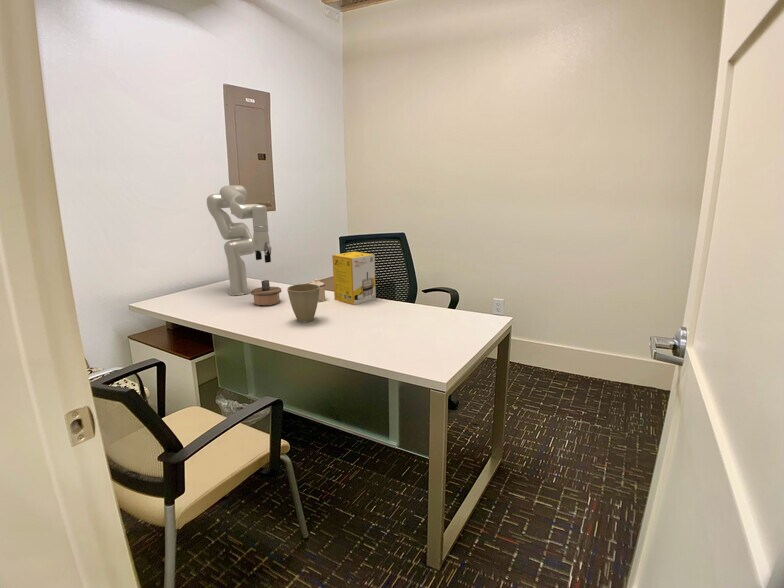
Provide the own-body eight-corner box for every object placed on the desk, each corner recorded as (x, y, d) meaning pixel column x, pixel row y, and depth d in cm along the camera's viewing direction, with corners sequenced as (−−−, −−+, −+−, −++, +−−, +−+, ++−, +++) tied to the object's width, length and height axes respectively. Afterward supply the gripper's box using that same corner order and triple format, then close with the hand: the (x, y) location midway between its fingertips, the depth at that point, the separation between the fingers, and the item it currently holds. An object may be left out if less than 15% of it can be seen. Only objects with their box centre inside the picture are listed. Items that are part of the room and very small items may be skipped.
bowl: (251, 303, 239) (249, 292, 237) (271, 298, 247) (270, 288, 246) (262, 307, 230) (261, 296, 229) (283, 302, 239) (282, 291, 237)
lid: (245, 292, 237) (244, 281, 236) (271, 287, 248) (270, 276, 247) (260, 297, 226) (259, 286, 225) (287, 291, 237) (286, 280, 236)
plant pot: (286, 325, 202) (283, 291, 198) (293, 315, 216) (291, 283, 212) (318, 324, 201) (316, 291, 197) (323, 314, 216) (322, 283, 212)
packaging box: (356, 294, 254) (354, 251, 248) (375, 299, 243) (374, 254, 237) (334, 299, 243) (332, 255, 236) (353, 305, 232) (351, 258, 225)
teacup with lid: (329, 299, 244) (328, 278, 241) (316, 302, 237) (315, 282, 234) (314, 296, 251) (313, 276, 248) (302, 299, 244) (300, 279, 242)
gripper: (246, 228, 234) (249, 259, 238) (262, 231, 222) (265, 264, 226) (259, 226, 239) (261, 257, 243) (275, 229, 227) (278, 262, 231)
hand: (263, 261), depth 235 cm, fingers open, 9 cm apart
